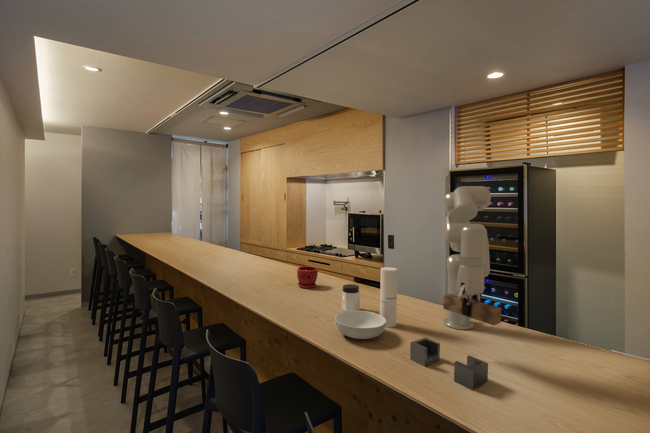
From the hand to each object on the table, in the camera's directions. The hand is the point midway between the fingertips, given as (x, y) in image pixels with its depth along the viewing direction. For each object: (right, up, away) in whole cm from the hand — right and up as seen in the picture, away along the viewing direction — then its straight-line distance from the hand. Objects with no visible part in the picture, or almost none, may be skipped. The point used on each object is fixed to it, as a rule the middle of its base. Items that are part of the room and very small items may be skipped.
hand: (470, 313), depth 117 cm
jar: (-37, -14, +54) cm, 67 cm away
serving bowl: (-36, -15, +22) cm, 45 cm away
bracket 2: (-6, -17, -14) cm, 23 cm away
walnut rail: (0, -1, 0) cm, 1 cm away
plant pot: (-62, -11, +99) cm, 117 cm away
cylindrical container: (-22, -15, +34) cm, 43 cm away
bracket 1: (-15, -16, -1) cm, 22 cm away
